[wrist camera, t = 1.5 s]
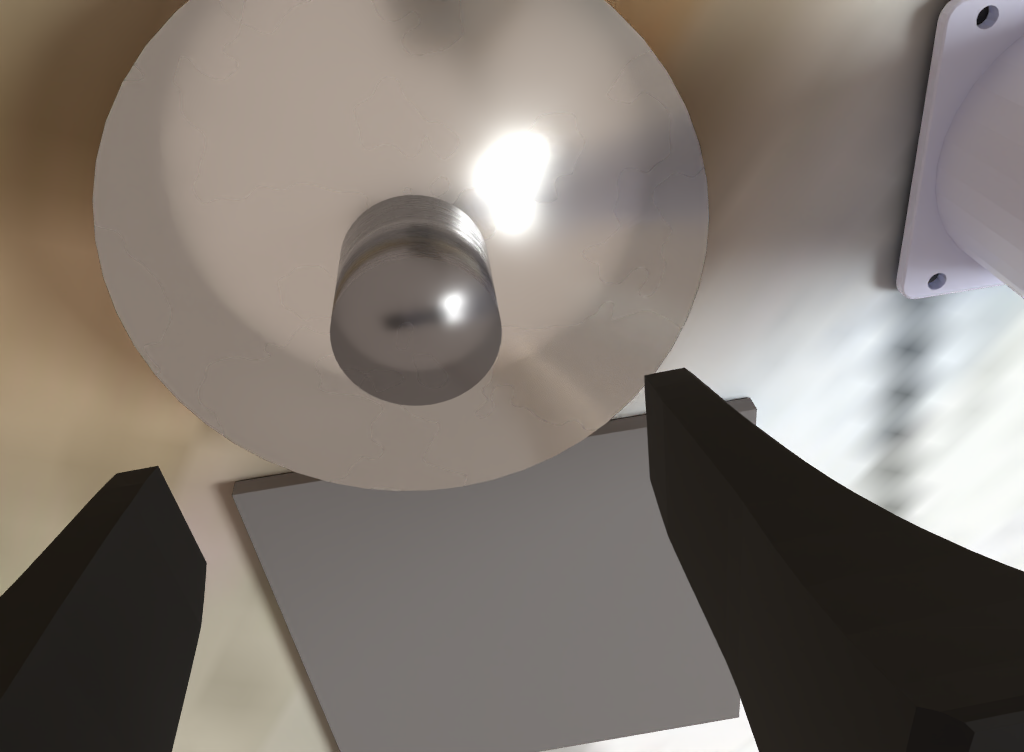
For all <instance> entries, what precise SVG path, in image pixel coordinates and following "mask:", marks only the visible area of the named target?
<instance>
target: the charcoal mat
mask: <svg viewBox="0 0 1024 752" xmlns="http://www.w3.org/2000/svg"><path fill="white" fill-rule="evenodd" d="M726 402H727V403H728V404H730V405H731V406H732V407H733V408H734V409H736V410H737V411H738V412H739V413H741V414H742V415H743V416H744V417H746V418H747V419H748V420H749V421H751V422H752V423H753V424H755V425H756V412H757V409H756V407H755V405H754V404H753V402H752V400H751V399H750V398H745V399H739V400H732V401H726ZM232 496H233V499H234V501H235V504H236V506H237V508H238V511H239V513H240V515H241V518H242V520H243V522H244V525H245V527H246V530H247V532H248V534H249V537H250V539H251V541H252V544H253V546H254V549H255V551H256V553H257V556H258V558H259V560H260V563H261V565H262V567H263V570H264V572H265V575H266V577H267V579H268V582H269V584H270V586H271V589H272V591H273V593H274V596H275V598H276V601H277V603H278V605H279V608H280V610H281V612H282V615H283V617H284V620H285V622H286V624H287V627H288V629H289V631H290V634H291V636H292V638H293V641H294V643H295V646H296V648H297V650H298V653H299V655H300V657H301V660H302V662H303V665H304V667H305V669H306V672H307V674H308V676H309V679H310V681H311V683H312V686H313V688H314V691H315V693H316V695H317V698H318V700H319V702H320V705H321V707H322V709H323V712H324V714H325V717H326V719H327V721H328V724H329V726H330V728H331V731H332V733H333V736H334V738H335V740H336V743H337V745H338V747H339V750H340V752H540V751H546V750H552V749H557V748H563V747H569V746H575V745H581V744H586V743H592V742H598V741H604V740H610V739H615V738H621V737H627V736H633V735H639V734H645V733H650V732H656V731H662V730H668V729H674V728H679V727H685V726H691V725H697V724H703V723H708V722H714V721H720V720H726V719H732V718H738V717H739V707H740V695H739V692H738V690H737V687H736V685H735V682H734V680H733V678H732V675H731V673H730V670H729V668H728V665H727V663H726V661H725V658H724V656H723V654H722V652H721V650H720V648H719V646H718V643H717V641H716V639H715V637H714V635H713V633H712V631H711V628H710V626H709V624H708V622H707V620H706V618H705V616H704V613H703V611H702V609H701V607H700V605H699V603H698V601H697V598H696V596H695V594H694V592H693V590H692V588H691V586H690V583H689V581H688V579H687V577H686V575H685V573H684V570H683V568H682V566H681V564H680V562H679V559H678V557H677V555H676V553H675V551H674V548H673V546H672V544H671V542H670V540H669V537H668V535H667V532H666V529H665V525H664V522H663V519H662V516H661V513H660V510H659V507H658V504H657V501H656V497H655V494H654V491H653V488H652V485H651V481H650V474H649V456H648V438H647V419H646V415H641V416H635V417H629V418H623V419H616V420H610V421H608V422H607V423H606V424H604V425H603V426H601V427H600V428H599V429H597V430H596V431H594V432H593V433H592V434H590V435H589V436H588V437H586V438H585V439H583V440H582V441H580V442H579V443H577V444H575V445H573V446H572V447H570V448H568V449H566V450H565V451H563V452H561V453H559V454H558V455H556V456H554V457H552V458H550V459H548V460H545V461H543V462H541V463H538V464H536V465H534V466H532V467H529V468H527V469H525V470H522V471H519V472H516V473H513V474H510V475H507V476H503V477H500V478H497V479H494V480H490V481H486V482H481V483H476V484H472V485H467V486H462V487H455V488H446V489H437V490H426V491H390V490H378V489H366V488H359V487H353V486H348V485H342V484H337V483H331V482H327V481H324V480H320V479H317V478H313V477H310V476H307V475H303V474H300V473H296V472H293V473H287V474H281V475H275V476H269V477H263V478H256V479H250V480H244V481H238V482H235V485H234V489H233V493H232Z"/></svg>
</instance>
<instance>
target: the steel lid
mask: <svg viewBox="0 0 1024 752" xmlns="http://www.w3.org/2000/svg"><path fill="white" fill-rule="evenodd" d="M93 216H94V231H95V242H96V246H97V251H98V255H99V260H100V265H101V269H102V274H103V278H104V281H105V283H106V286H107V289H108V291H109V294H110V297H111V299H112V302H113V305H114V307H115V310H116V313H117V315H118V316H119V318H120V320H121V322H122V324H123V326H124V328H125V330H126V331H127V333H128V335H129V337H130V339H131V341H132V343H133V345H134V346H135V347H136V349H137V350H138V352H139V353H140V354H141V356H142V357H143V359H144V360H145V361H146V363H147V364H148V366H149V367H150V368H151V370H152V371H153V373H154V374H155V375H156V376H157V377H158V378H159V380H160V381H161V382H162V383H163V384H164V385H165V386H166V387H167V388H168V389H169V390H170V392H171V393H172V394H173V395H174V396H175V397H176V398H177V399H178V400H179V401H180V402H181V403H182V404H183V405H184V406H186V407H187V408H188V409H189V410H190V411H191V412H193V413H194V414H195V415H196V416H197V417H198V418H200V419H201V420H202V421H203V422H204V423H205V424H207V425H208V426H210V427H211V428H213V429H214V430H215V431H217V432H218V433H220V434H221V435H223V436H224V437H226V438H227V439H229V440H230V441H232V442H233V443H235V444H236V445H238V446H240V447H242V448H244V449H246V450H248V451H250V452H251V453H253V454H255V455H257V456H259V457H261V458H263V459H265V460H267V461H269V462H272V463H274V464H277V465H279V466H282V467H284V468H287V469H289V470H292V471H294V472H296V473H300V474H303V475H307V476H310V477H313V478H317V479H320V480H324V481H327V482H331V483H337V484H342V485H348V486H353V487H359V488H366V489H378V490H390V491H426V490H437V489H446V488H455V487H462V486H467V485H472V484H476V483H481V482H486V481H490V480H494V479H497V478H500V477H503V476H507V475H510V474H513V473H516V472H519V471H522V470H525V469H527V468H529V467H532V466H534V465H536V464H538V463H541V462H543V461H545V460H548V459H550V458H552V457H554V456H556V455H558V454H559V453H561V452H563V451H565V450H566V449H568V448H570V447H572V446H573V445H575V444H577V443H579V442H580V441H582V440H583V439H585V438H586V437H588V436H589V435H590V434H592V433H593V432H594V431H596V430H597V429H599V428H600V427H601V426H603V425H604V424H606V423H607V422H608V421H609V420H610V419H611V418H613V417H614V416H615V415H616V414H617V413H618V412H619V411H620V410H621V409H623V408H624V407H625V406H626V405H627V404H628V403H629V402H630V401H631V400H632V399H633V398H634V397H635V396H636V395H637V394H638V392H639V391H640V390H641V389H642V388H643V387H644V386H645V383H644V375H649V374H654V373H655V372H656V371H657V369H658V368H659V366H660V365H661V364H662V362H663V361H664V359H665V358H666V356H667V355H668V353H669V352H670V350H671V349H672V347H673V345H674V343H675V341H676V339H677V338H678V336H679V334H680V332H681V330H682V328H683V326H684V324H685V322H686V320H687V318H688V315H689V312H690V310H691V307H692V304H693V301H694V299H695V296H696V293H697V291H698V288H699V284H700V279H701V275H702V270H703V266H704V261H705V257H706V250H707V238H708V226H709V206H708V188H707V178H706V173H705V168H704V163H703V158H702V153H701V148H700V144H699V141H698V138H697V136H696V133H695V130H694V127H693V124H692V122H691V119H690V116H689V113H688V110H687V108H686V106H685V104H684V102H683V100H682V98H681V96H680V94H679V93H678V91H677V89H676V87H675V85H674V83H673V81H672V79H671V77H670V75H669V74H668V72H667V71H666V69H665V68H664V66H663V65H662V64H661V62H660V61H659V60H658V58H657V57H656V55H655V54H654V53H653V51H652V50H651V49H650V47H649V46H648V44H647V43H646V42H645V40H644V39H643V38H642V37H641V36H640V35H639V34H638V33H637V32H636V31H635V30H634V29H633V28H632V27H631V26H630V25H629V24H628V23H627V22H626V21H625V20H624V18H623V17H622V16H621V15H620V14H619V13H618V12H617V11H616V10H615V9H614V8H613V7H612V6H611V5H610V4H608V3H607V2H606V1H605V0H189V1H188V2H186V3H185V4H184V5H183V6H182V7H181V8H179V9H178V10H177V11H176V12H175V13H174V14H173V15H172V16H171V18H170V19H169V20H168V21H167V22H166V23H165V24H164V25H163V27H162V28H161V29H160V30H159V31H158V32H157V33H156V35H155V36H154V37H153V38H152V39H151V40H150V41H149V42H148V44H147V45H146V46H145V47H144V49H143V51H142V52H141V54H140V55H139V57H138V59H137V60H136V62H135V63H134V65H133V66H132V68H131V70H130V71H129V73H128V74H127V76H126V78H125V79H124V81H123V82H122V85H121V87H120V89H119V92H118V94H117V96H116V99H115V101H114V103H113V106H112V108H111V110H110V113H109V115H108V117H107V120H106V123H105V127H104V131H103V135H102V139H101V143H100V147H99V151H98V155H97V159H96V166H95V178H94V189H93Z"/></svg>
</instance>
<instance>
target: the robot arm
mask: <svg viewBox="0 0 1024 752" xmlns="http://www.w3.org/2000/svg"><path fill="white" fill-rule="evenodd" d="M987 6H989V13H988V16H987V18H986V19H985V20H984V21H983V22H982V24H979V25H977V22H976V19H977V16H978V14H979V12H980V11H981V10H982V9H983V8H984V7H987ZM937 273H939V275H938V277H937V278H936V279H935V280H934V281H933V282H930V283H928V281H929V279H930V278H931V277H932V276H933V275H935V274H937ZM1005 284H1006V285H1007V286H1008V287H1009V288H1011V289H1012V290H1013V291H1015V292H1016V293H1017V294H1018V295H1020V296H1021V297H1022V298H1023V299H1024V0H951V1H950V2H948V3H947V4H946V5H945V7H944V8H943V10H942V11H941V13H940V16H939V19H938V23H937V29H936V35H935V42H934V48H933V54H932V60H931V67H930V73H929V79H928V86H927V92H926V98H925V104H924V111H923V117H922V123H921V129H920V136H919V142H918V148H917V154H916V161H915V167H914V173H913V179H912V186H911V192H910V198H909V205H908V211H907V217H906V223H905V230H904V236H903V242H902V248H901V255H900V261H899V267H898V273H897V280H896V285H897V288H898V290H899V291H900V292H901V293H902V294H903V295H904V296H905V297H907V298H909V299H919V298H925V297H931V296H937V295H943V294H949V293H956V292H962V291H968V290H974V289H980V288H987V287H993V286H999V285H1005ZM644 383H645V401H646V419H647V438H648V456H649V474H650V481H651V485H652V488H653V491H654V494H655V497H656V501H657V504H658V507H659V510H660V513H661V516H662V519H663V522H664V525H665V529H666V532H667V535H668V537H669V540H670V542H671V544H672V546H673V548H674V551H675V553H676V555H677V557H678V559H679V562H680V564H681V566H682V568H683V570H684V573H685V575H686V577H687V579H688V581H689V583H690V586H691V588H692V590H693V592H694V594H695V596H696V598H697V601H698V603H699V605H700V607H701V609H702V611H703V613H704V616H705V618H706V620H707V622H708V624H709V626H710V628H711V631H712V633H713V635H714V637H715V639H716V641H717V643H718V646H719V648H720V650H721V652H722V654H723V656H724V658H725V661H726V663H727V665H728V668H729V670H730V673H731V675H732V678H733V680H734V682H735V685H736V687H737V690H738V692H739V695H740V698H741V701H742V704H743V707H744V710H745V712H746V715H747V718H748V721H749V724H750V727H751V730H752V733H753V735H754V738H755V741H756V744H757V747H758V750H759V752H1024V571H1021V570H1018V569H1016V568H1013V567H1010V566H1007V565H1005V564H1002V563H1000V562H998V561H995V560H993V559H990V558H988V557H985V556H983V555H980V554H978V553H976V552H973V551H971V550H968V549H966V548H964V547H962V546H960V545H957V544H955V543H953V542H951V541H949V540H946V539H944V538H942V537H940V536H938V535H935V534H933V533H931V532H929V531H927V530H924V529H922V528H920V527H918V526H916V525H914V524H912V523H910V522H908V521H906V520H904V519H902V518H900V517H898V516H896V515H894V514H893V513H891V512H889V511H887V510H885V509H883V508H882V507H880V506H878V505H876V504H874V503H872V502H871V501H869V500H867V499H865V498H863V497H862V496H860V495H858V494H856V493H854V492H853V491H851V490H849V489H848V488H846V487H844V486H843V485H841V484H839V483H838V482H836V481H834V480H833V479H831V478H830V477H828V476H826V475H825V474H823V473H822V472H820V471H819V470H817V469H816V468H814V467H813V466H811V465H810V464H808V463H807V462H805V461H804V460H802V459H801V458H799V457H798V456H797V455H795V454H794V453H792V452H791V451H789V450H788V449H787V448H785V447H784V446H783V445H781V444H780V443H779V442H777V441H776V440H775V439H773V438H772V437H771V436H769V435H768V434H767V433H765V432H764V431H763V430H761V429H760V428H758V427H757V426H756V425H755V424H753V423H752V422H751V421H749V420H748V419H747V418H746V417H744V416H743V415H742V414H741V413H739V412H738V411H737V410H736V409H734V408H733V407H732V406H731V405H730V404H728V403H727V402H726V401H725V400H723V399H722V398H721V397H720V396H719V395H717V394H716V393H715V392H714V391H713V390H711V389H710V388H709V387H708V386H707V385H705V384H704V383H703V382H702V381H701V380H700V379H698V378H697V377H696V376H695V375H694V374H692V373H691V372H690V371H688V370H687V369H686V368H681V369H675V370H670V371H665V372H659V373H654V374H649V375H644ZM206 565H207V563H206V561H205V559H204V557H203V555H202V553H201V551H200V549H199V547H198V545H197V543H196V541H195V539H194V537H193V535H192V533H191V531H190V529H189V527H188V525H187V523H186V521H185V519H184V517H183V515H182V513H181V511H180V509H179V507H178V505H177V503H176V501H175V499H174V497H173V495H172V493H171V491H170V489H169V487H168V485H167V483H166V481H165V479H164V477H163V475H162V473H161V471H160V469H159V467H158V466H155V467H149V468H144V469H139V470H133V471H128V472H122V473H117V474H116V475H115V476H114V477H113V478H111V479H110V480H109V481H108V482H107V483H106V484H105V485H104V486H103V487H102V488H101V489H100V490H99V492H98V493H97V494H96V495H95V496H94V497H93V498H92V499H91V500H90V501H89V502H88V503H87V504H86V505H85V507H84V508H83V509H82V510H81V511H80V512H79V513H78V514H77V515H76V516H75V517H74V519H73V520H72V521H71V522H70V523H69V524H68V525H67V526H66V527H65V528H64V530H63V531H62V532H61V533H60V534H59V535H58V536H57V537H56V538H55V539H54V541H53V542H52V543H51V544H50V545H49V546H48V547H47V548H46V549H45V550H44V551H43V552H42V553H41V555H40V556H39V557H38V558H37V559H36V560H35V561H34V562H33V563H32V564H31V565H30V566H29V568H28V569H27V570H26V571H25V572H24V573H23V574H22V575H21V576H20V577H19V578H18V579H17V580H16V581H15V582H14V584H13V585H12V586H11V587H10V588H9V589H8V590H7V591H6V592H5V593H4V594H3V595H2V596H1V597H0V752H172V748H173V744H174V740H175V736H176V732H177V727H178V723H179V719H180V715H181V711H182V707H183V702H184V698H185V694H186V690H187V686H188V682H189V677H190V673H191V669H192V664H193V660H194V656H195V651H196V647H197V643H198V638H199V633H200V629H201V622H202V613H203V603H204V592H205V579H206Z"/></svg>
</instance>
